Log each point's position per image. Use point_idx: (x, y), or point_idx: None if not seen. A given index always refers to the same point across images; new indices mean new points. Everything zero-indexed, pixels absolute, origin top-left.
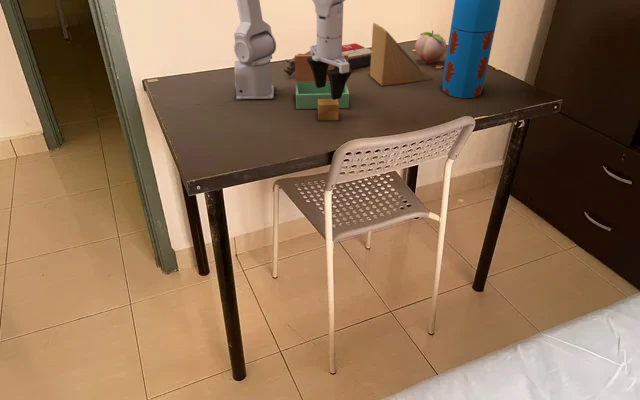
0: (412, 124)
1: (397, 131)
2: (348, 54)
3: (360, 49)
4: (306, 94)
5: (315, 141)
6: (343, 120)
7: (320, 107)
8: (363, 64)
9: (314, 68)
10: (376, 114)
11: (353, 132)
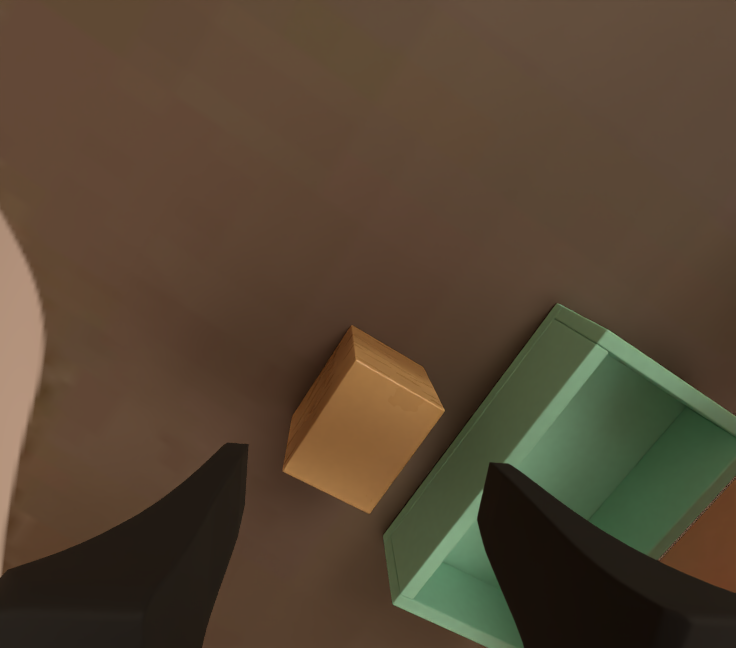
0: None
1: None
2: None
3: None
4: (563, 391)
5: (120, 146)
6: (274, 436)
7: (348, 363)
8: None
9: (591, 575)
10: (241, 600)
11: (117, 399)
